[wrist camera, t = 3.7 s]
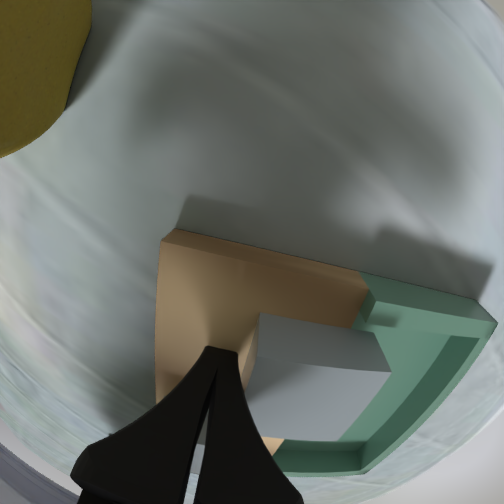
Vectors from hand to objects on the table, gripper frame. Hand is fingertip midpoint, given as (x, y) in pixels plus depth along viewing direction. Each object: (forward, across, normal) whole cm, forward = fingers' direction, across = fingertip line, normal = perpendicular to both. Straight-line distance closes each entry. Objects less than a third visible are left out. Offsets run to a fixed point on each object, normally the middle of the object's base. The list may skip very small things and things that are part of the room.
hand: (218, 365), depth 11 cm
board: (+2, -1, +4) cm, 4 cm away
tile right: (+1, -4, 0) cm, 4 cm away
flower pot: (+3, +12, -12) cm, 17 cm away
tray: (+2, -9, +4) cm, 10 cm away
